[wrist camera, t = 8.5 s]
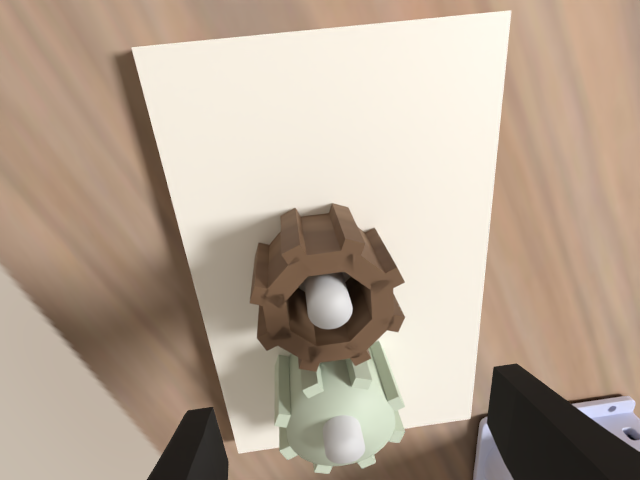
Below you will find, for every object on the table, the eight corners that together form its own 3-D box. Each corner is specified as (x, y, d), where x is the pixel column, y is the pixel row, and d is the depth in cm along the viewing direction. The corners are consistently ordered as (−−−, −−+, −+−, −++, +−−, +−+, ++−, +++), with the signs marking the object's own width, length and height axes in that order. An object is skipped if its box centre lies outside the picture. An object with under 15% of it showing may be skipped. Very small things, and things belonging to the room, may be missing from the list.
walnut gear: (380, 197, 16) (404, 230, 13) (383, 307, 19) (405, 359, 15) (246, 213, 16) (239, 252, 13) (267, 323, 18) (265, 379, 15)
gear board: (497, 13, 15) (609, -9, 10) (463, 404, 23) (513, 499, 18) (140, 47, 14) (66, 43, 9) (240, 437, 23) (229, 545, 18)
